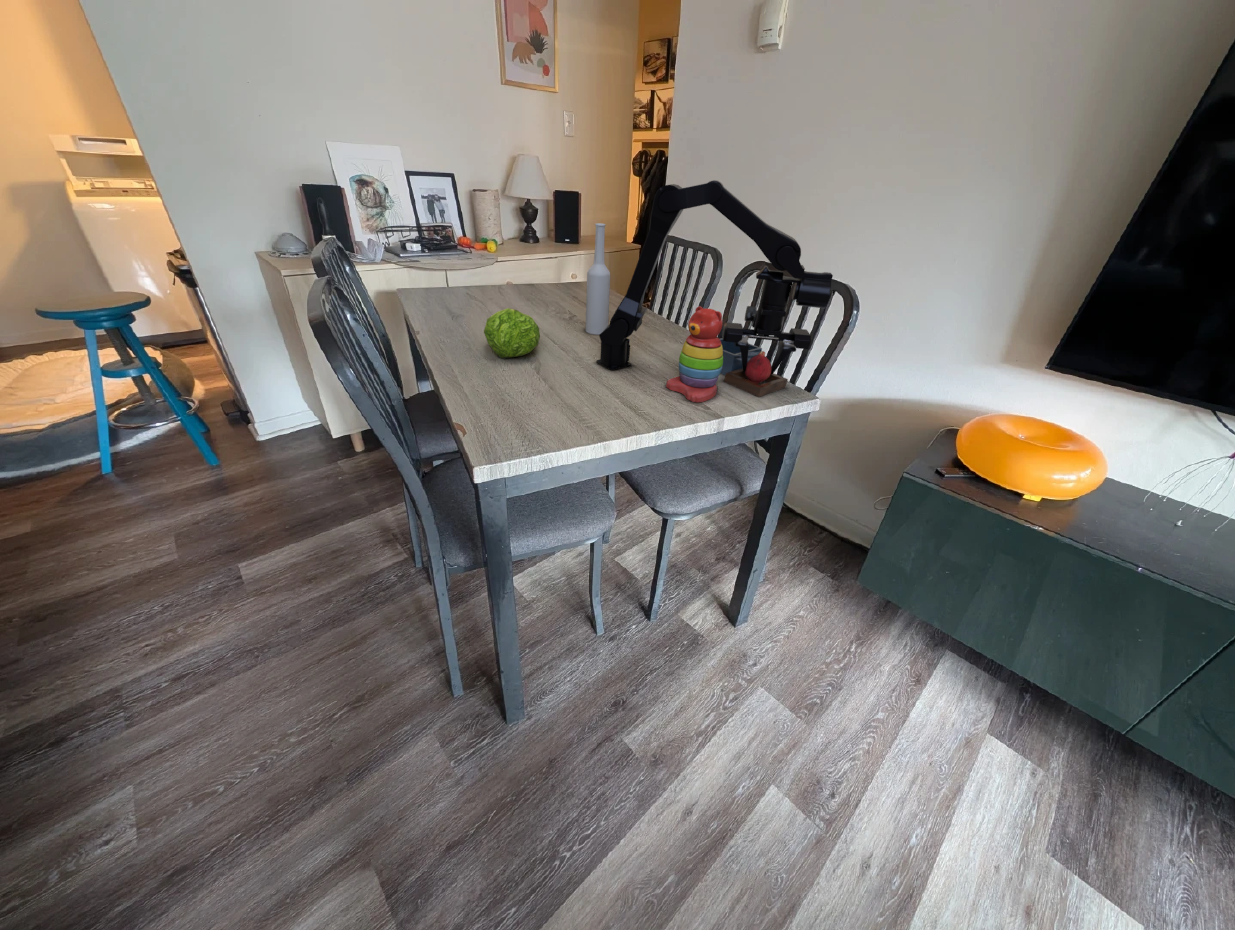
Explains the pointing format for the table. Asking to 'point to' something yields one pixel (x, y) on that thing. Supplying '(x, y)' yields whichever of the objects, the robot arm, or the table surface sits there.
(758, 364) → the red round fruit
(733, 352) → the blue open box
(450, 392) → the table surface
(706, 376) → the stacking bear
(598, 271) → the bottle
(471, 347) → the table surface
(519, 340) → the lettuce
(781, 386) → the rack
